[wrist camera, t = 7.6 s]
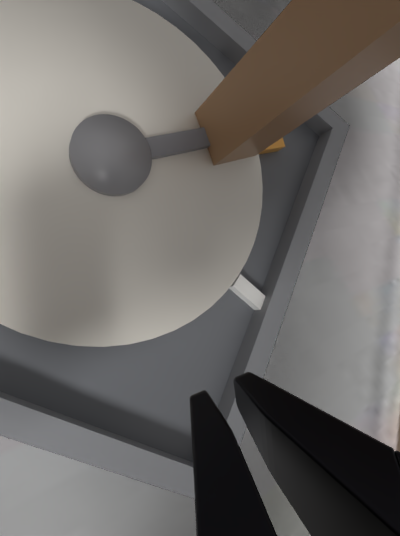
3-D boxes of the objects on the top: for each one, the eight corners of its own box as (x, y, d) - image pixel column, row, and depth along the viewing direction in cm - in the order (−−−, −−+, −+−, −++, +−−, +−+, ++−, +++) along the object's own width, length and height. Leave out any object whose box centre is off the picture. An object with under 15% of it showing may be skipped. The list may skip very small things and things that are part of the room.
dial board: (196, 486, 16) (218, 507, 14) (-441, 268, 9) (-547, 256, 8) (323, 140, 22) (349, 125, 21) (-4, -140, 16) (-6, -199, 14)
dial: (-24, 416, 12) (-148, 714, 3) (-194, -6, 11) (-985, -1233, 2) (288, 273, 18) (545, 230, 9) (191, 0, 18) (368, -322, 9)
